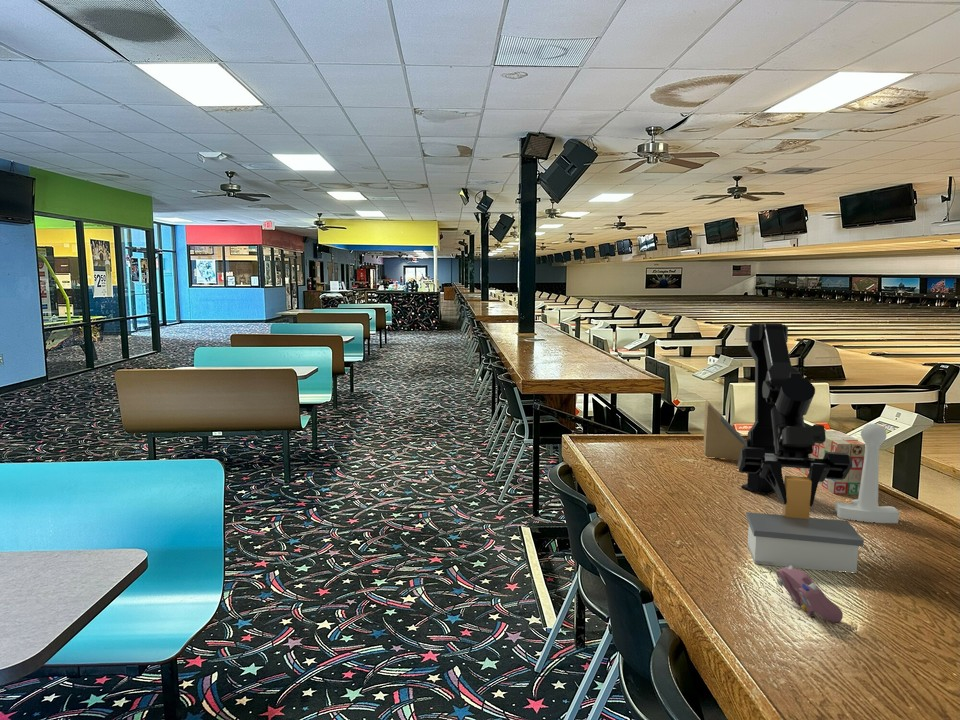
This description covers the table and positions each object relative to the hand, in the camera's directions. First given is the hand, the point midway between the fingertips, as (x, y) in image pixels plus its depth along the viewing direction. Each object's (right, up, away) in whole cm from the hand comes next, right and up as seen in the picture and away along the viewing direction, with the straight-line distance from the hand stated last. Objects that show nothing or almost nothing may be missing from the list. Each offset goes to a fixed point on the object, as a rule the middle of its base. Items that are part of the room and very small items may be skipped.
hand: (798, 504), depth 118 cm
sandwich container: (+13, -1, +64) cm, 65 cm away
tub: (-1, -9, -2) cm, 9 cm away
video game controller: (-8, -12, -19) cm, 24 cm away
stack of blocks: (+27, -4, +42) cm, 51 cm away
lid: (-1, -5, -3) cm, 6 cm away
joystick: (+23, -7, +19) cm, 30 cm away
